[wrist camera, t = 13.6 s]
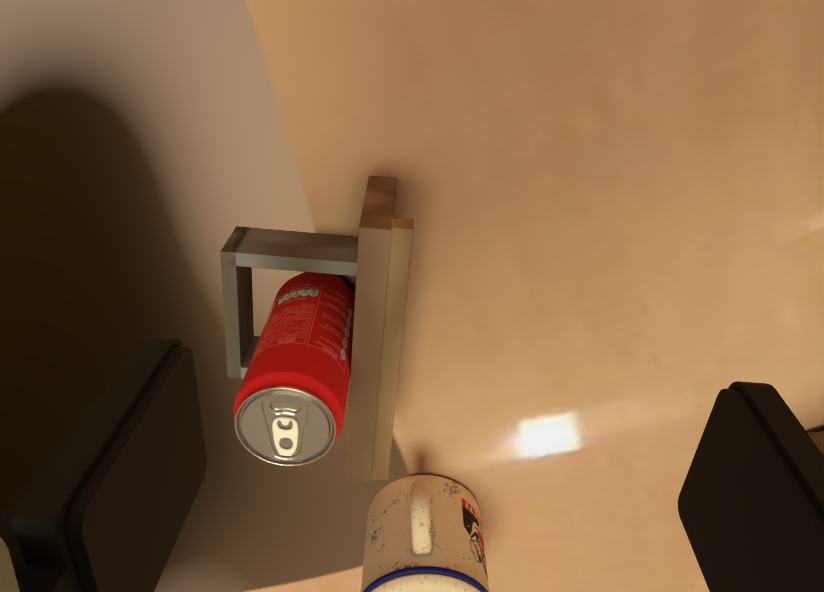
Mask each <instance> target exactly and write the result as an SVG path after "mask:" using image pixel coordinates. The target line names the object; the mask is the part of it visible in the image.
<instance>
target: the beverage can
mask: <svg viewBox="0 0 824 592" xmlns="http://www.w3.org/2000/svg"><path fill="white" fill-rule="evenodd" d="M354 308H355V295H354V293H353V292H352V290H351V289H350V287H349V286H348V285H347V283H346V282H345V281H344V280H342V279H341V278H340V277H338V276H337V275H335V274H326V273H314V272H304V273H302V274H300V275H298V276H295V277H293V278H291V279H290V280H288V281H287V282H286V283H285V284H284V285H283V286H282V287H281V288H280V290H279V291H278V293H277V296H276V298H275V301H274V303H273V306H272V308H271V311H270V313H269V316H268V319H267V321H266V323H265V326H264V328H263V331H262V333H261V336H260V338H259V341H258V344H257V346H256V349H255V351H254V354H253V356H252V359H251V361H250V364H249V366H248V369H247V371H246V374H245V376H244V379H243V381H242V384H241V386H240V389H239V391H238V394H237V397H236V399H235V403H234V418H235V420H234V426H235V431H236V434H237V436H238V439H239V440H240V442H241V443H242V445H243V446H244V447H245V448H246V449H247V450H248V451H249V452H250V453H252V454H253V455H254V456H256V457H258V458H259V459H261V460H264V461H266V462H269V463H272V464H276V465H282V466H299V465H304V464H308V463H310V462H313V461H315V460H317V459H319V458H321V457H322V456H324V455H325V454H326V453H327V452H328V451H329V450H330V448H331V447H332V445H333V443H334V442H335V440H336V439H337V437H338V436H339V434H340V431H341V429H342V426H343V420H344V413H345V406H346V399H347V393H348V386H349V380H350V373H351V360H352V343H353V325H354Z"/></svg>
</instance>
